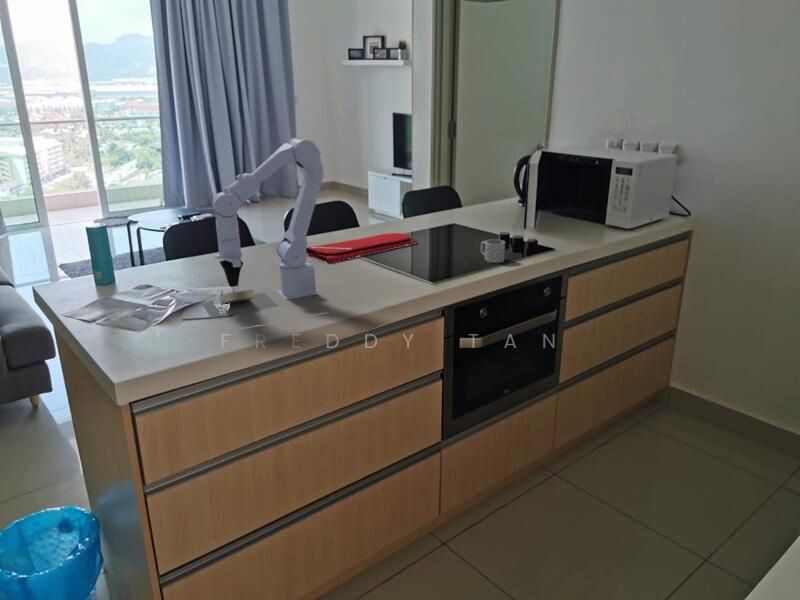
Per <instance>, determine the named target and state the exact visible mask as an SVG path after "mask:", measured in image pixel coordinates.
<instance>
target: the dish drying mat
mask: <svg viewBox="0 0 800 600" xmlns="http://www.w3.org/2000/svg"><path fill="white" fill-rule="evenodd" d="M415 242H418V240H417V239H415V238H412V237H411V236H410V235H407V234H405V233H399V232H393V233H382V234H377V235H373V236H366V237H362V238H357V239H350V240H349V239H348V240H344V241H339V242H333V243H327V244H326V243H325V244H322V245H321V244H320V245H315V246H307V248H306V252H307V256H308V257H310V256H311V257H310V258H312V257H314V258H317V259H319V260H318V261H320V260H322V261H326V262H327V263H328V264H331V263H330V262H334V261H338V262H340V261H339V260H343V259H348V258H352V257H355V256H358V255H363V254H368V253H373V252H377V251H382V250H386V249H390V248H394V247H399V246H403V245H406V244H411V243H415ZM314 258H313V259H314ZM317 259H316V260H317ZM348 260H349V259H348ZM322 261H321V262H322ZM343 261H344V260H343ZM327 263H326V264H327ZM334 263H335V262H334Z"/></svg>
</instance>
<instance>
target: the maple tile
mask: <svg viewBox="0 0 800 600" xmlns="http://www.w3.org/2000/svg"><path fill="white" fill-rule="evenodd" d="M255 294H256V293H255V289H247V290H242V291H236V292H228V293H224V294H222V295H221V296H219V300H220V302H221V305H223V304H229V303H235V302H241V301H247V300H251V299H252V298H254V297H255Z"/></svg>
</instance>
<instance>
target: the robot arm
mask: <svg viewBox="0 0 800 600" xmlns="http://www.w3.org/2000/svg"><path fill="white" fill-rule="evenodd" d="M321 154H322V153H321V151H320V149H319V148H318V146H317V145H316V144H315V142H313V141H312V140H310V139H303V138H301V137H292V138H290V139H289V140H288V141H287V143H286V142H285V143H283V144H282V145H281V146H280V147H278V149H277V150H275V151H274V152H273V153H272V154H271V155H270V156H269V157H268V158H267V159H266V160H265V161H263V162H262V163H261V164H260V165H259V166H258V167H257V168H256V169H255V170H253V172H251V173H247V172H244V173H243V174H237V175H236V180H234V181H233V182H232V183H231V184H229V185H228V186H227V187H226V186H224V188H222V192H218V193H216V194H215V195H214V196H213V198H212V201H211V207H212V208H213V210H214V211H215V213H214V214H215V228H216V229H215V230H216V236H217V237H216V238H217V246H218V254H215V255H214V257H215V259H217V260H219V259H220V260H219V264H220V266H221V268H222V269H223V271H224V274H225V277H226V281H227V283H228V285H229V287H230V288H233V287H238V286H239V282H240V273H241V270H242V268H243V265H244V261H242V256H243V253H242V248H241V239H240V229H239V221H238V215H237V213H238V212H239V209H240V206H242V205H243V204H244V203H246V202H247V201H248V200H249V199H251V197H253V196H254V195H255V194H256V193H257V192H259V191H260V188H261V187H260V186H261V183H262V182H263V181H265V180H266V179H268V178H269V177H270V176H271V175H273V174H274V173H275V172H276V171H278V170H279V169H281V168H282V167H283V166H289V165H297V167H298V169H299V171H300V172H301V173H302V175H303V176H302V179H301V180H302V181H301V183H300V184H301V185H300V188H299V190H298V195H297V198H296V200H295V201H296V202H295V205H294V209H293V211H292V215H291V217H290V218H291V219H290V223H289V226H288V229H287V230H286V232H285V233H284V234H283V237H282V239H281V241H280V242H278V243H277V244H278V245H277V247H276V253H277V255H278V257H279V259H280V262H279V270H280V271H279V274H280V285H281V289H279V290H277V293H278V294H279V295H280V296H281V297H282V298H283V299H284V300H291V299H292V300H293V299H297V298H303V297H308V296H309V297H312V296H316V295H317V294H318V293H317V289H316V287H317V286H316V275H315V274H316V273H315V268H314V266H313V264H312V263H311V262H306V261H307V259H308V254H307V252H306V248H307V247H308V239H307V238H308V237H307V234H308V230H309V227H310V224H311V220H312V217H313V213H314V211H315V210H314V209H315V207H316V203H317V199H318V195H319V192H320V189H321V186H322V181H323V178H324V169H323V164H322V159H321Z"/></svg>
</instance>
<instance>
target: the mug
mask: <svg viewBox="0 0 800 600" xmlns="http://www.w3.org/2000/svg"><path fill="white" fill-rule="evenodd" d="M484 248H485V249H484ZM505 251H506V241H505V240H502V239H498V238H495V239H494V238H493V239H487V240H483V241H481V242H480V253H481V254H482V255H483V256H484V261H485V260H486V261H487V263H490V262H492V263H491V264H494V263H495V264H499V263H500V264H501V263H503V262H505ZM486 261H485V262H486Z"/></svg>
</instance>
